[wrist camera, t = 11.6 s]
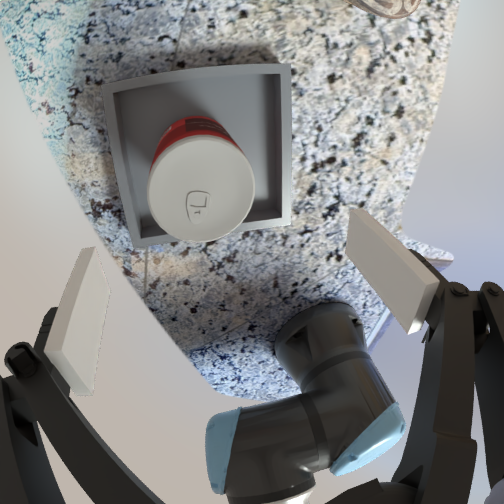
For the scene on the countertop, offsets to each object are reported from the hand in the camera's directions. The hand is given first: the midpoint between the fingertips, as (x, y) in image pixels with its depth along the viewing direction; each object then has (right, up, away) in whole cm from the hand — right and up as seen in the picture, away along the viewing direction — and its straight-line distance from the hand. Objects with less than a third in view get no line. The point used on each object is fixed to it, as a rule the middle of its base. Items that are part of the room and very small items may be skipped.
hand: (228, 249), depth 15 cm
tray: (-4, +10, +15) cm, 19 cm away
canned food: (-5, +10, +15) cm, 18 cm away
